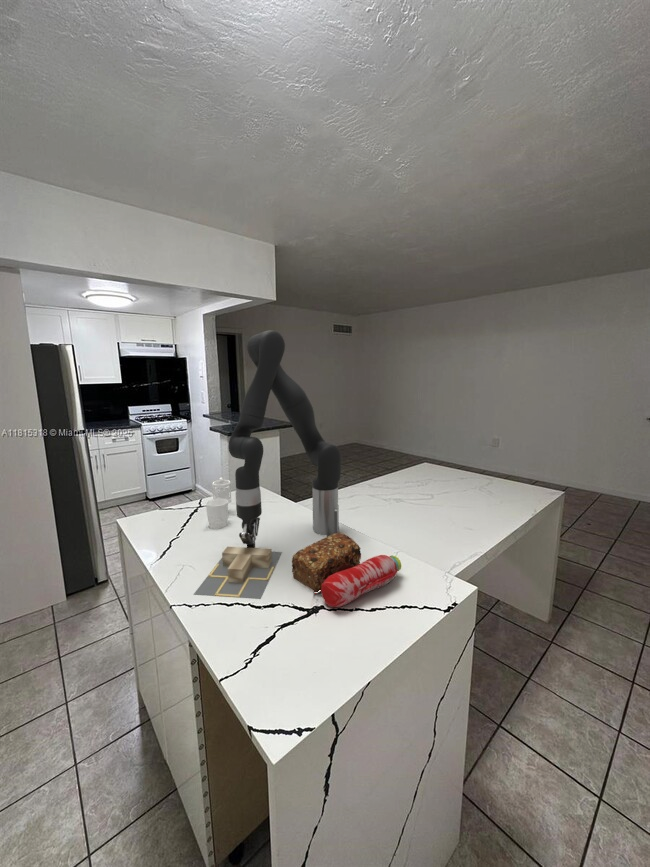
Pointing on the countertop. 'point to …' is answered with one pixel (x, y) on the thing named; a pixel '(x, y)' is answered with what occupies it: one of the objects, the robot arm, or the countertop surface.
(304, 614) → the countertop surface
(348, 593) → the water bottle
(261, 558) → the t block
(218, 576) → the board
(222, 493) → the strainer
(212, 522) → the white cup
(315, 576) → the bread
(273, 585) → the countertop surface
